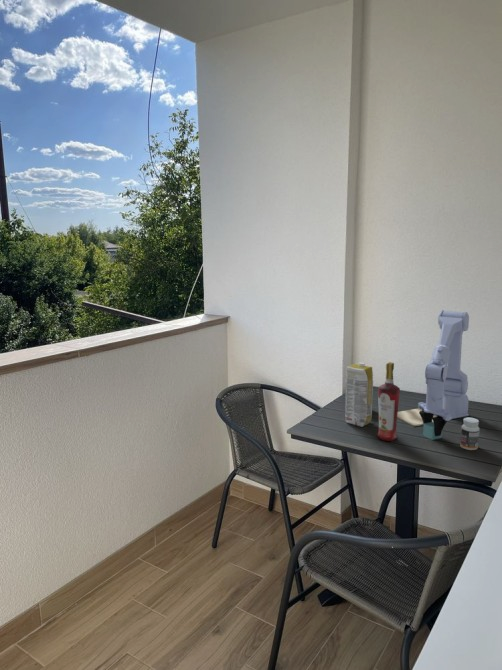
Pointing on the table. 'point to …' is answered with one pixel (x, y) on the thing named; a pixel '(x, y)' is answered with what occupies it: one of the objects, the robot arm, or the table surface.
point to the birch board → (411, 417)
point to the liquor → (388, 406)
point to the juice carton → (358, 394)
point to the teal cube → (430, 431)
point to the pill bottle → (470, 434)
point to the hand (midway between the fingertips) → (432, 432)
